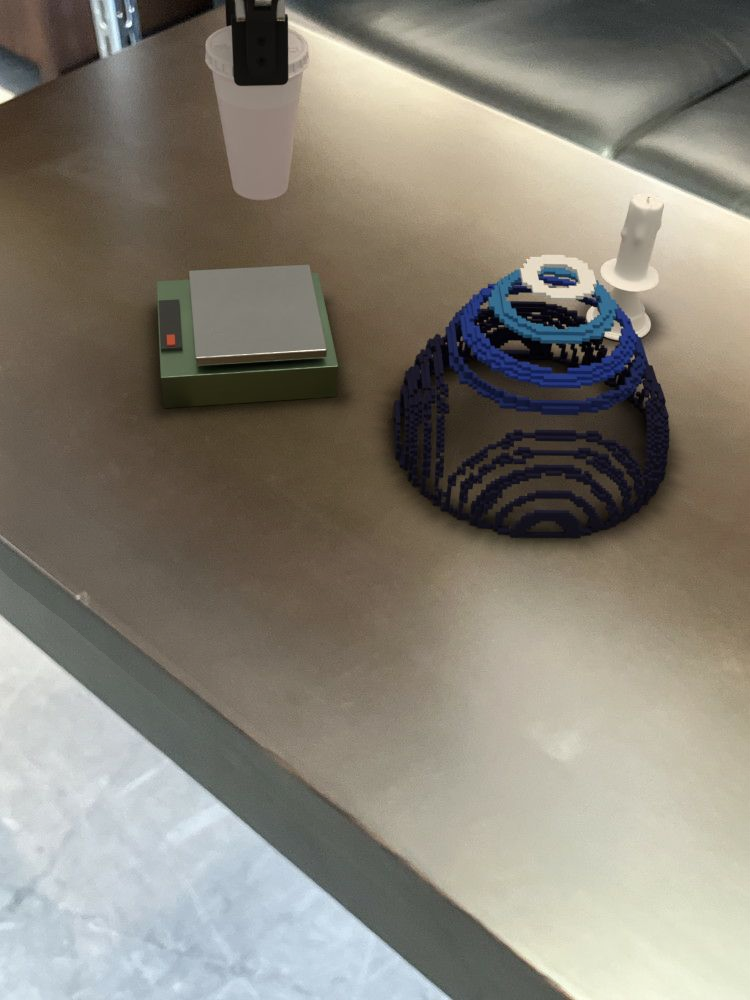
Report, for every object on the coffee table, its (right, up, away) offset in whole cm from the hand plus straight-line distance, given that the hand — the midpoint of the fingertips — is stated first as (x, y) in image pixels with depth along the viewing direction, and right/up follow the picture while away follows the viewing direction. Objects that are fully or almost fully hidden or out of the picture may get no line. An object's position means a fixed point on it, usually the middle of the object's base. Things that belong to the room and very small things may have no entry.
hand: (256, 53), depth 70 cm
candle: (+28, -13, +25) cm, 39 cm away
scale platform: (-2, -13, +18) cm, 22 cm away
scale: (-3, -16, +20) cm, 26 cm away
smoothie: (0, -6, +7) cm, 9 cm away
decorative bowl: (+19, -23, +15) cm, 33 cm away
